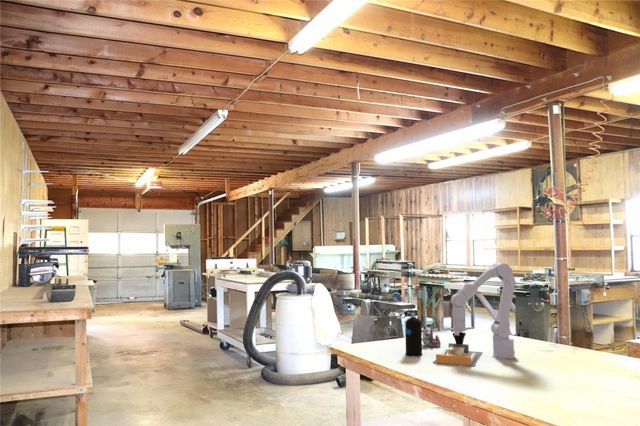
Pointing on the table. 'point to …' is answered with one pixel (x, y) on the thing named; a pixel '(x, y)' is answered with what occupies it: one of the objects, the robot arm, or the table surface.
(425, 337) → the brake caliper
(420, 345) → the aerosol can
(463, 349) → the grey beige angular piece
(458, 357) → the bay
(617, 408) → the table surface
